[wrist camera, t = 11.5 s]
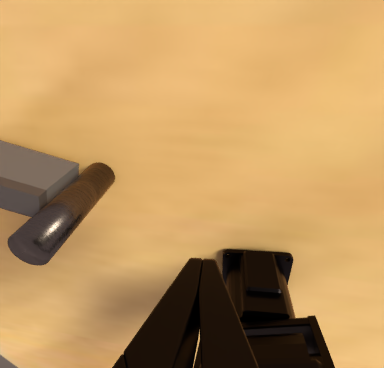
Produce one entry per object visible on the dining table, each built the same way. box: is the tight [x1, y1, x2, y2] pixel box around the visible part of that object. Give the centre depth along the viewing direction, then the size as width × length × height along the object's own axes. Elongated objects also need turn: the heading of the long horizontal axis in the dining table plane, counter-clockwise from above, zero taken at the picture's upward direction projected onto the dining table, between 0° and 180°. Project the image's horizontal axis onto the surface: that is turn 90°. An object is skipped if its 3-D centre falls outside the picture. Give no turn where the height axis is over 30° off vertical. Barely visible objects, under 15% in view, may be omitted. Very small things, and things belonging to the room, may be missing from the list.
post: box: [8, 163, 115, 265], centre depth 17 cm, size 2×2×9 cm
